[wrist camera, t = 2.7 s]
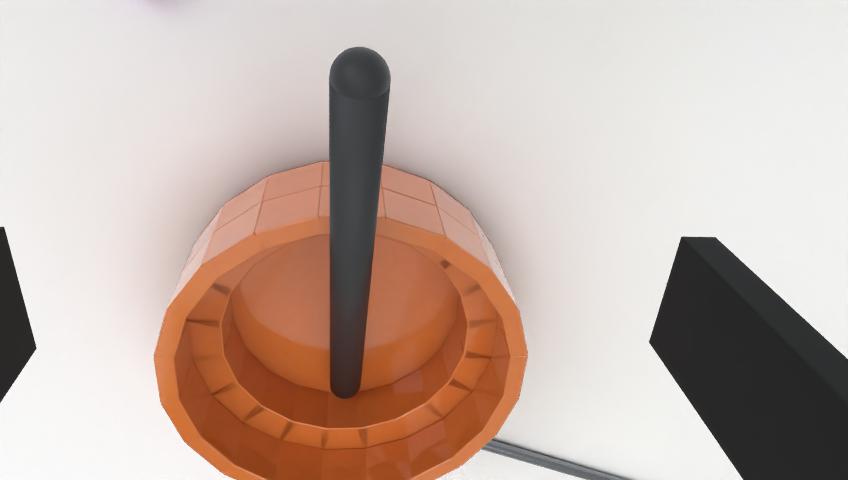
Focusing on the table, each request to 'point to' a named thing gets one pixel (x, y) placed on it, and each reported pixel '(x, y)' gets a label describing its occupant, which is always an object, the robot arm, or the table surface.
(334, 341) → the stick
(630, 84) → the table surface
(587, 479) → the rod
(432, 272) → the bowl
